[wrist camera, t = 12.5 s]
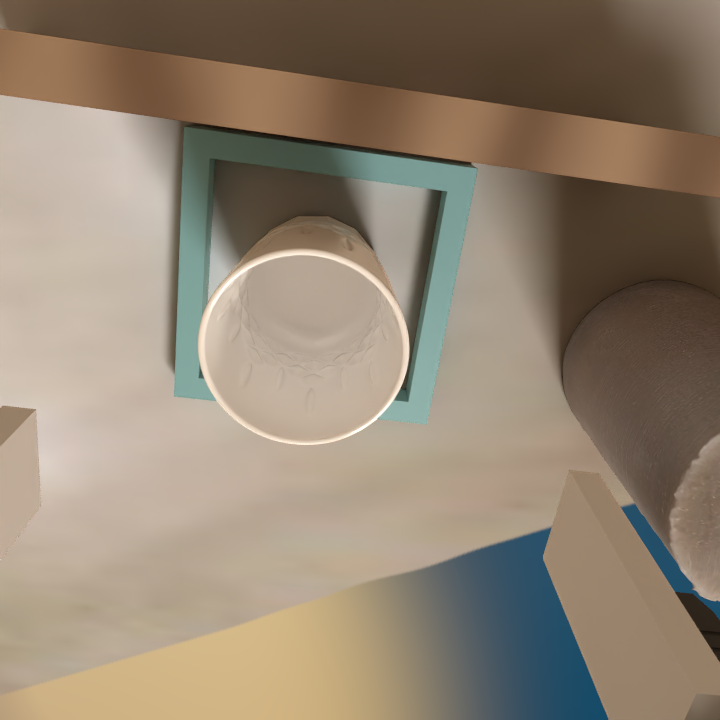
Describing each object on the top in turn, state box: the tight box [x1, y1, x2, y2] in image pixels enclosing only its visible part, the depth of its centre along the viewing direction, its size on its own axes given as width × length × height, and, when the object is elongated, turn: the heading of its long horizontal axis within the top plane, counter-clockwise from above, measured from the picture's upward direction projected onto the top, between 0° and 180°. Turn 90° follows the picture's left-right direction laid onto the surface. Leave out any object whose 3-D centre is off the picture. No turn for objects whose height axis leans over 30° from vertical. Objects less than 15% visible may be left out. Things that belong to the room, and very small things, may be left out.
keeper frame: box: [174, 125, 478, 424], centre depth 33 cm, size 13×13×2 cm
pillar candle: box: [563, 280, 720, 601], centre depth 29 cm, size 10×10×15 cm
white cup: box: [198, 216, 409, 445], centre depth 29 cm, size 8×8×10 cm
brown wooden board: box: [0, 29, 720, 198], centre depth 27 cm, size 28×2×9 cm, turn 82°
